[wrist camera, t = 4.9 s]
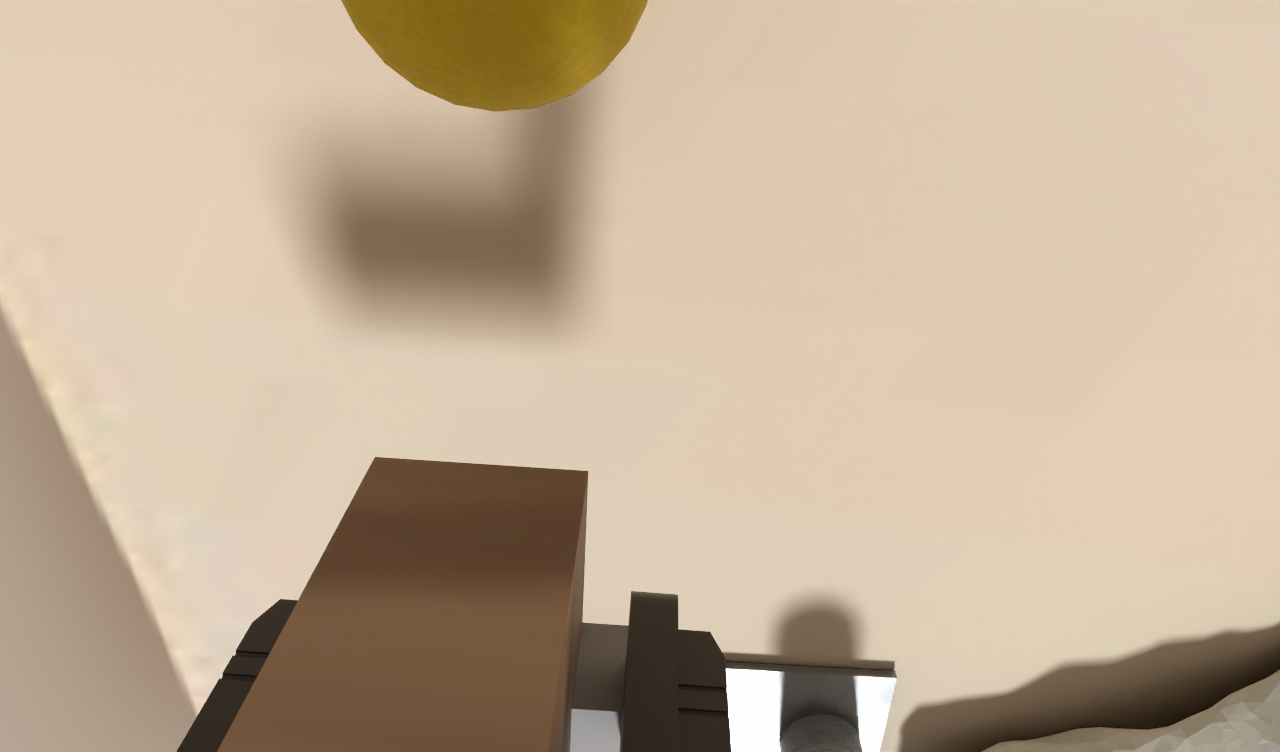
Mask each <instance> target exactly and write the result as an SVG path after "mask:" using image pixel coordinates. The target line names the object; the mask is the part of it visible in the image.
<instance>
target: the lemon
mask: <svg viewBox="0 0 1280 752" xmlns="http://www.w3.org/2000/svg"><path fill="white" fill-rule="evenodd" d="M341 1H342V2H343V4H344V6H345V8H346V10H347V12H348V14H349V16H350V18H351V20H352V22H353V23H354V25H355V27H356V29H357V30H358V32H359V33H360V34H361V35H362V36H363V38H364V39H365V40H366V41H367V42H368V44H369V45H370V46H371V47H372V48H373V50H374V51H375V52H376V53H377V54H378V55H379V57H380V58H381V59H382V60H383V61H384V63H385V64H387V65H388V66H389V67H391V68H392V69H393V70H395V71H396V72H397V73H399V74H400V75H401V76H402V77H404V78H405V79H406V80H408V81H409V82H410V83H412V84H413V85H414V86H415V87H417V88H419V89H421V90H423V91H426V92H428V93H430V94H433V95H435V96H437V97H439V98H442V99H444V100H446V101H448V102H451V103H453V104H455V105H461V106H466V107H472V108H478V109H484V110H490V111H506V110H518V109H530V108H536V107H538V106H541V105H544V104H547V103H549V102H552V101H555V100H558V99H560V98H563V97H566V96H569V95H571V94H573V93H574V92H576V91H577V90H578V89H580V88H581V87H583V86H584V85H585V84H587V83H588V82H590V81H591V80H592V79H594V78H595V77H597V76H598V75H599V74H601V73H602V72H603V71H604V70H605V69H606V68H607V66H608V65H609V64H610V63H611V62H612V61H613V59H614V58H615V57H616V56H617V55H618V53H619V52H620V51H621V50H622V49H623V48H624V46H625V45H626V44H627V43H628V42H629V40H630V38H631V36H632V34H633V32H634V30H635V28H636V25H637V23H638V21H639V19H640V17H641V15H642V13H643V11H644V9H645V7H646V5H647V0H341Z"/></svg>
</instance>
